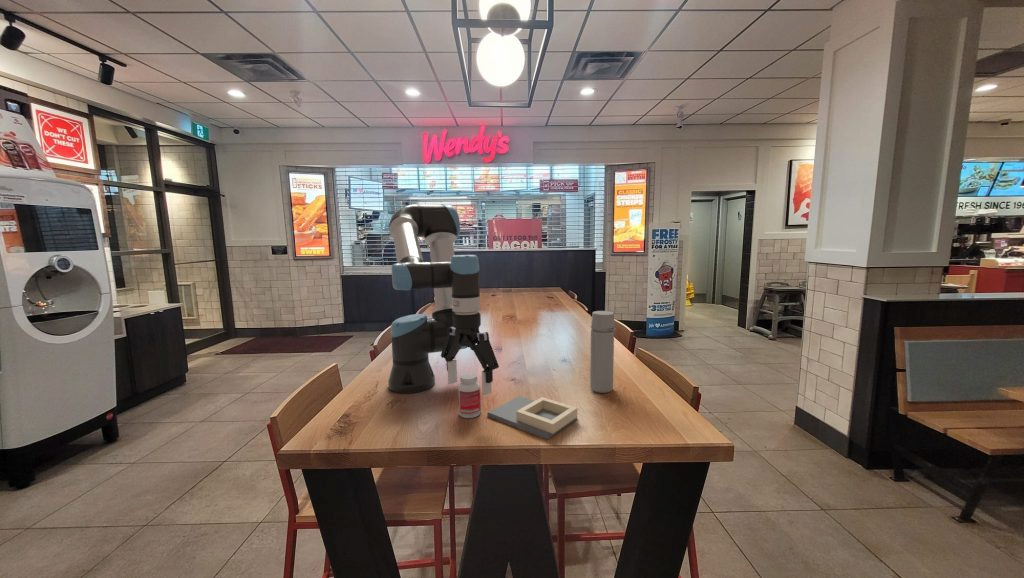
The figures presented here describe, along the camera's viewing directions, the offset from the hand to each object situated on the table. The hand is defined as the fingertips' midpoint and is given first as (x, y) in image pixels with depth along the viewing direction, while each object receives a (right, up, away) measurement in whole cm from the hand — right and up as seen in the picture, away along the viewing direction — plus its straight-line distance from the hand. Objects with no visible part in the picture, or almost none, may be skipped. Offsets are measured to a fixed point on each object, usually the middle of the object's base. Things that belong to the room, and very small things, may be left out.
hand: (469, 388), depth 107 cm
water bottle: (+41, -5, +18) cm, 45 cm away
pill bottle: (0, -8, +2) cm, 8 cm away
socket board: (+17, -8, -1) cm, 19 cm away
